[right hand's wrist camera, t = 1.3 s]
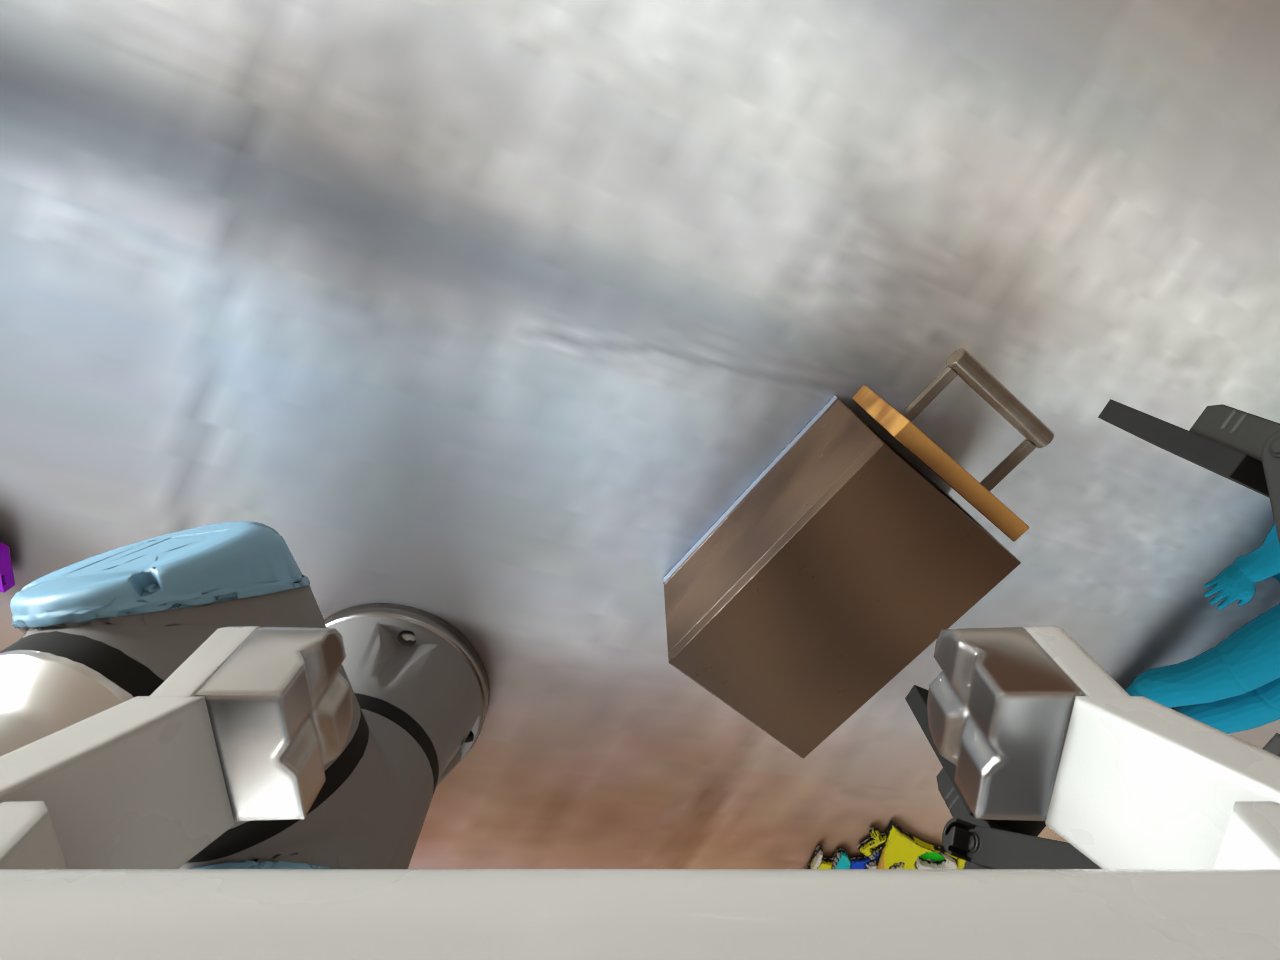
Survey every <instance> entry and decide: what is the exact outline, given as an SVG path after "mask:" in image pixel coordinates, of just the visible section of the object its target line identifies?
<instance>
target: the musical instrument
mask: <svg viewBox="0 0 1280 960" xmlns="http://www.w3.org/2000/svg"><path fill="white" fill-rule="evenodd" d="M14 585H15V582H14V575H13V570H12V563H11V556H10V549H9V546H7V545H5V544H3V543H1V542H0V591H1V592H5V591H7V590H8V589H10V588H11V587H13V586H14Z"/></svg>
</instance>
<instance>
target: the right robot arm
mask: <svg viewBox="0 0 1280 960" xmlns="http://www.w3.org/2000/svg"><path fill="white" fill-rule="evenodd" d="M345 658H346V653H345V648H344V643H343V638H342V635H341V634H340V633H339V632H338V631H337V629H336V628H300V627H259V626H244V627H224V628H219V629H217V630H216V631H215V632H214V633H213V634H212V635H211V636H210V637H209V638H208V639H207V640H206V641H205V642H204V643H203V644H202V645H201V646H200V647H199V648H198V649H197V650H196V651H195V652H194V653H193V654H192V655H191V656H190V657H189V658H188V659H187V660H186V661H185V662H184V663H183V664H182V665H181V666H180V667H178V668H177V669H176V670H175V671H174V672H173V673H172V674H171V675H170V676H169V677H168V678H167V679H166V680H165V681H164V682H163V683H162V684H161V685H160V686H159V687H158V688H157V689H156V690H155V691H154V692H153V693H152V694H151V695H150V696H137V697H134V698H132V699H130V700H127V701H125V702H123V703H121V704H118V705H116V706H114V707H112V708H109V709H107V710H105V711H103V712H100V713H98V714H96V715H93V716H91V717H89V718H87V719H84V720H82V721H80V722H78V723H75V724H73V725H71V726H69V727H66V728H64V729H62V730H60V731H57V732H55V733H53V734H50V735H48V736H46V737H44V738H41V739H39V740H37V741H35V742H32V743H30V744H28V745H26V746H23V747H21V748H19V749H16V750H14V751H12V752H10V753H7V754H5V755H3V756H1V757H0V960H1280V757H1279V756H1277V755H1274V754H1272V753H1270V752H1268V751H1265V750H1263V749H1261V748H1259V747H1256V746H1254V745H1252V744H1250V743H1247V742H1245V741H1243V740H1241V739H1238V738H1236V737H1234V736H1232V735H1229V734H1227V733H1225V732H1223V731H1220V730H1218V729H1216V728H1214V727H1211V726H1209V725H1207V724H1204V723H1202V722H1200V721H1198V720H1195V719H1193V718H1191V717H1189V716H1186V715H1184V714H1182V713H1180V712H1177V711H1175V710H1173V709H1171V708H1168V707H1166V706H1164V705H1162V704H1159V703H1157V702H1155V701H1153V700H1150V699H1148V698H1146V697H1143V696H1130V695H1129V694H1128V693H1127V692H1126V691H1125V690H1124V689H1123V688H1122V687H1121V686H1120V685H1119V684H1118V683H1117V682H1116V681H1115V680H1114V679H1113V678H1112V677H1111V676H1110V675H1109V674H1108V673H1107V672H1106V671H1105V670H1104V669H1103V668H1102V667H1101V666H1100V665H1099V664H1098V663H1097V662H1096V661H1095V660H1094V659H1093V658H1092V657H1091V656H1090V655H1088V654H1087V653H1086V652H1085V651H1084V650H1083V649H1082V648H1081V647H1080V646H1079V645H1078V644H1077V643H1076V642H1075V641H1074V640H1073V639H1072V638H1071V637H1070V636H1069V635H1068V634H1067V633H1066V632H1065V631H1064V630H1063V629H1060V628H1058V627H1055V626H1039V627H1010V628H970V629H944V630H941V632H940V634H939V636H938V638H937V641H936V647H935V653H934V658H935V659H936V661H937V662H938V664H939V666H940V667H941V669H942V670H943V671H942V672H941V673H940V674H939V675H938V676H937V677H936V678H935V679H934V680H933V682H932V683H931V684H930V685H929V692H928V700H927V713H928V723H929V729H930V732H931V735H932V739H933V742H934V744H935V745H936V747H937V749H938V751H939V753H940V755H941V756H942V757H944V758H946V759H947V760H949V761H950V762H952V763H953V764H955V765H956V772H955V778H954V781H955V782H956V784H957V786H958V788H959V790H960V791H961V793H962V795H963V797H964V799H965V800H966V802H967V804H968V806H969V808H970V809H971V811H972V813H973V815H974V816H975V818H976V819H991V820H1027V821H1046V822H1045V824H1046V825H1047V826H1048V827H1049V828H1051V829H1052V830H1053V831H1055V832H1056V833H1057V834H1058V835H1060V836H1061V837H1062V838H1063V839H1065V840H1066V841H1067V842H1069V843H1070V844H1071V845H1072V846H1074V847H1075V848H1076V849H1078V850H1079V851H1080V852H1081V853H1083V854H1084V855H1085V856H1086V857H1088V858H1089V859H1090V860H1092V861H1093V862H1094V863H1095V864H1097V865H1098V866H1099V867H1100V868H1102V869H178V868H180V867H181V866H182V865H184V864H185V863H186V862H187V861H189V860H190V859H191V858H193V857H194V856H195V855H196V854H198V853H199V852H200V851H201V850H203V849H204V848H205V847H207V846H208V845H209V844H210V843H212V842H213V841H214V840H216V839H217V838H218V837H219V836H221V835H222V834H223V833H224V832H226V831H227V830H228V829H230V828H231V827H232V826H233V825H234V824H235V823H234V821H253V820H288V819H304V818H305V817H306V815H307V813H308V811H309V809H310V808H311V806H312V804H313V802H314V800H315V799H316V797H317V795H318V793H319V791H320V790H321V788H322V786H323V784H324V782H325V781H326V778H325V772H324V765H325V764H327V763H328V762H330V761H331V760H333V759H334V758H336V757H338V756H339V755H340V753H341V751H342V749H343V747H344V745H345V743H346V741H347V740H348V735H349V731H350V727H351V723H352V718H353V698H352V691H351V685H350V684H349V683H348V682H347V680H346V679H345V678H344V677H343V676H342V675H341V674H340V673H339V672H338V671H337V670H338V669H339V667H340V666H341V664H342V662H343V661H344V659H345Z"/></svg>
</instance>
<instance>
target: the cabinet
mask: <svg viewBox="0 0 1280 960" xmlns="http://www.w3.org/2000/svg"><path fill="white" fill-rule="evenodd" d="M1019 564H1020V561H1019V560H1018V559H1017V558H1016V557H1015V556H1013V555H1012V554H1011V553H1010V552H1009V551H1008V550H1007V549H1006V548H1005V547H1004V546H1003V545H1002V544H1001V543H1000V542H999V541H997V540H996V539H995V538H994V537H993V536H992V535H991V534H990V533H989V532H988V531H987V530H986V529H985V528H984V527H983V526H982V525H980V524H979V523H978V522H977V521H976V520H975V519H974V518H973V517H972V516H971V515H970V514H969V513H968V512H967V511H966V510H964V509H963V508H962V507H961V506H960V505H959V504H958V503H957V502H956V501H955V500H954V499H953V498H952V497H951V496H950V495H949V494H948V493H946V492H945V491H944V490H943V489H942V488H940V487H939V486H938V485H937V484H936V483H935V482H934V481H932V480H931V479H930V478H929V477H928V476H927V475H926V474H924V473H923V472H922V471H921V470H920V469H919V468H918V467H916V466H915V465H914V464H913V463H912V462H911V461H909V460H908V459H907V458H906V457H905V456H904V455H903V454H901V453H900V452H899V451H898V450H897V449H896V448H895V447H893V446H892V445H891V444H890V443H889V442H888V441H887V440H885V439H884V438H883V437H882V436H881V435H880V434H879V433H877V432H876V431H875V430H874V429H873V428H872V427H870V426H869V425H868V424H867V423H866V422H865V421H864V420H862V419H861V418H860V417H859V416H858V415H857V414H856V413H854V412H853V411H852V410H851V409H850V408H849V407H848V406H846V405H845V404H844V403H843V402H842V401H841V400H840V399H838V398H837V397H836V396H835V395H834V397H833V398H832V399H831V400H830V401H829V402H828V403H827V404H826V405H825V406H824V407H823V408H822V409H821V410H820V411H819V413H818V414H817V415H816V416H815V417H814V418H813V419H812V420H811V421H810V422H809V423H808V424H807V425H806V426H805V428H804V429H803V430H802V431H801V432H800V433H799V434H798V435H797V436H796V437H795V438H794V439H793V440H792V441H791V442H790V444H789V445H788V446H787V447H786V448H785V449H784V450H783V451H782V452H781V453H780V454H779V455H778V456H777V457H776V458H775V460H774V461H773V462H772V463H771V464H770V465H769V466H768V467H767V468H766V469H765V470H764V471H763V472H762V473H761V475H760V476H759V477H758V478H757V479H756V480H755V481H754V482H753V483H752V484H751V485H750V486H749V487H748V488H747V489H746V491H745V492H744V493H743V494H742V495H741V496H740V497H739V498H738V499H737V500H736V501H735V502H734V503H733V504H732V506H731V507H730V508H729V509H728V510H727V511H726V512H725V513H724V514H723V515H722V516H721V517H720V518H719V519H718V520H717V522H716V523H715V524H714V525H713V526H712V527H711V528H710V529H709V530H708V531H707V532H706V533H705V534H704V535H703V536H702V538H701V539H700V540H699V541H698V542H697V543H696V544H695V545H694V546H693V547H692V548H691V549H690V550H689V551H688V553H687V554H686V555H685V556H684V557H683V558H682V559H681V560H680V561H679V562H678V563H677V564H676V565H675V566H674V567H673V569H672V570H671V571H670V572H669V573H668V574H667V575H666V576H665V577H664V578H663V583H664V595H665V611H666V627H667V643H668V658H669V663H670V664H671V665H673V666H674V667H675V668H677V669H678V670H680V671H681V672H682V673H684V674H685V675H687V676H688V677H689V678H691V679H692V680H694V681H695V682H696V683H698V684H699V685H701V686H702V687H703V688H705V689H706V690H708V691H709V692H710V693H712V694H713V695H715V696H716V697H717V698H719V699H720V700H722V701H723V702H724V703H726V704H727V705H729V706H730V707H731V708H733V709H734V710H736V711H737V712H738V713H740V714H741V715H743V716H744V717H745V718H747V719H748V720H750V721H751V722H753V723H754V724H755V725H757V726H758V727H760V728H761V729H762V730H764V731H765V732H767V733H768V734H769V735H771V736H772V737H774V738H775V739H776V740H778V741H779V742H781V743H782V744H783V745H785V746H786V747H788V748H789V749H790V750H792V751H793V752H795V753H796V754H797V755H799V756H800V757H802V758H804V757H806V756H807V755H808V754H809V753H810V752H811V751H812V750H813V749H814V748H816V747H817V746H818V745H819V744H820V743H821V742H822V741H823V740H824V739H826V738H827V737H828V736H829V735H830V734H831V733H832V732H833V731H834V730H836V729H837V728H838V727H839V726H840V725H841V724H842V723H843V722H845V721H846V720H847V719H848V718H849V717H850V716H851V715H852V714H853V713H855V712H856V711H857V710H858V709H859V708H860V707H861V706H862V705H863V704H865V703H866V702H867V701H868V700H869V699H870V698H871V697H872V696H873V695H875V694H876V693H877V692H878V691H879V690H880V689H881V688H882V687H883V686H885V685H886V684H887V683H888V682H889V681H890V680H891V679H892V678H893V677H895V676H896V675H897V674H898V673H899V672H900V671H901V670H902V669H903V668H905V667H906V666H907V665H908V664H909V663H910V662H911V661H912V660H913V659H915V658H916V657H917V656H918V655H919V654H920V653H921V652H922V651H923V650H925V649H926V648H927V647H928V646H929V645H930V644H931V643H932V642H933V641H935V640H936V639H937V638H938V636H939V634H940V632H941V630H944V629H948V628H949V627H950V626H951V625H952V624H953V623H955V622H956V621H957V620H958V619H959V618H960V617H961V616H962V615H963V614H965V613H966V612H967V611H968V610H969V609H970V608H971V607H972V606H974V605H975V604H976V603H977V602H978V601H979V600H980V599H981V598H982V597H984V596H985V595H986V594H987V593H988V592H989V591H990V590H991V589H992V588H994V587H995V586H996V585H997V584H998V583H999V582H1000V581H1001V580H1002V579H1004V578H1005V577H1006V576H1007V575H1008V574H1009V573H1010V572H1011V571H1012V570H1014V569H1015V568H1016V567H1017V566H1018V565H1019Z"/></svg>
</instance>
